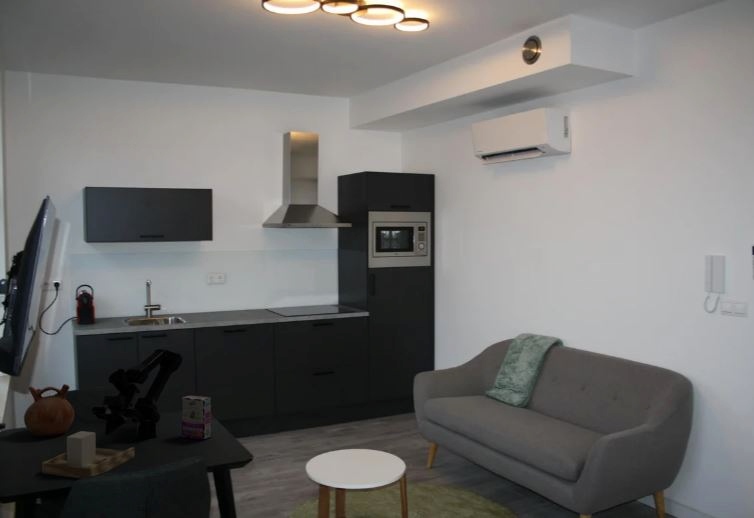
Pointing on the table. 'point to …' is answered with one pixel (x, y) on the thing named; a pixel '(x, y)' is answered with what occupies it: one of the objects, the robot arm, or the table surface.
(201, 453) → the table surface
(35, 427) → the jug
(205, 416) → the candy bar box
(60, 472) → the wooden tray
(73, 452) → the cream block
